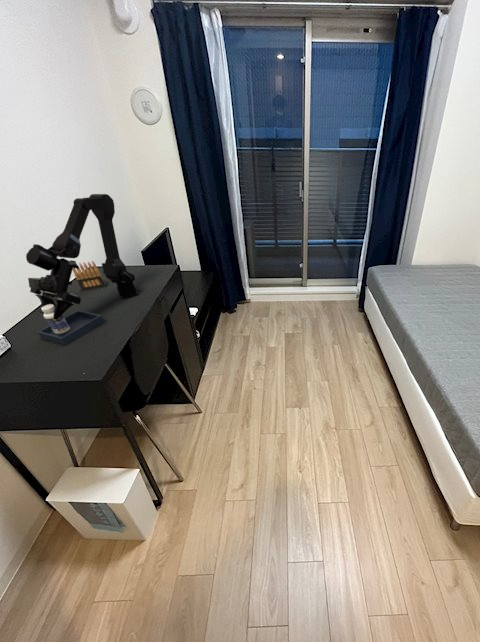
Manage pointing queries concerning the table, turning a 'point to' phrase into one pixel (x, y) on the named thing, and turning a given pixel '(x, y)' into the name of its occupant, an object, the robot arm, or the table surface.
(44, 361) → the table surface
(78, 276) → the ammunition clip
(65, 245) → the robot arm
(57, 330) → the pill bottle
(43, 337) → the tray
